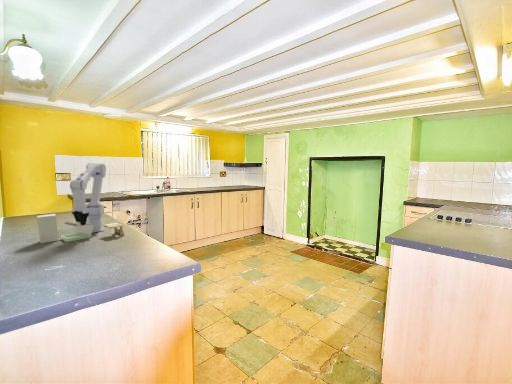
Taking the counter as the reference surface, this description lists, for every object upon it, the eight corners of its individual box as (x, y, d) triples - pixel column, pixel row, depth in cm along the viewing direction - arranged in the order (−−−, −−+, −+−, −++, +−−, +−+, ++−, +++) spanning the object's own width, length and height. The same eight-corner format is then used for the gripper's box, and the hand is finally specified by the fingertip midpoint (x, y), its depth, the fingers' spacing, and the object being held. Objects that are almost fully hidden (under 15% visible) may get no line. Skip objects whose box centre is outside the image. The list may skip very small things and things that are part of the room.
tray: (61, 239, 148) (60, 235, 148) (85, 234, 158) (85, 231, 158) (67, 242, 142) (66, 238, 142) (91, 237, 152) (91, 234, 152)
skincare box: (58, 238, 149) (56, 213, 148) (58, 241, 145) (56, 215, 143) (39, 241, 144) (37, 215, 142) (39, 244, 140) (36, 216, 138)
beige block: (104, 235, 156) (103, 224, 155) (117, 232, 162) (117, 222, 162) (110, 238, 151) (109, 227, 150) (124, 235, 157) (123, 224, 156)
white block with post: (61, 227, 144) (65, 218, 146) (87, 232, 154) (91, 224, 155) (64, 229, 141) (68, 219, 142) (90, 234, 150) (94, 225, 152)
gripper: (66, 200, 149) (68, 223, 150) (76, 203, 140) (78, 227, 142) (80, 199, 154) (82, 221, 156) (90, 201, 146) (92, 225, 147)
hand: (81, 224), depth 149 cm, fingers closed on white block with post, 6 cm apart
